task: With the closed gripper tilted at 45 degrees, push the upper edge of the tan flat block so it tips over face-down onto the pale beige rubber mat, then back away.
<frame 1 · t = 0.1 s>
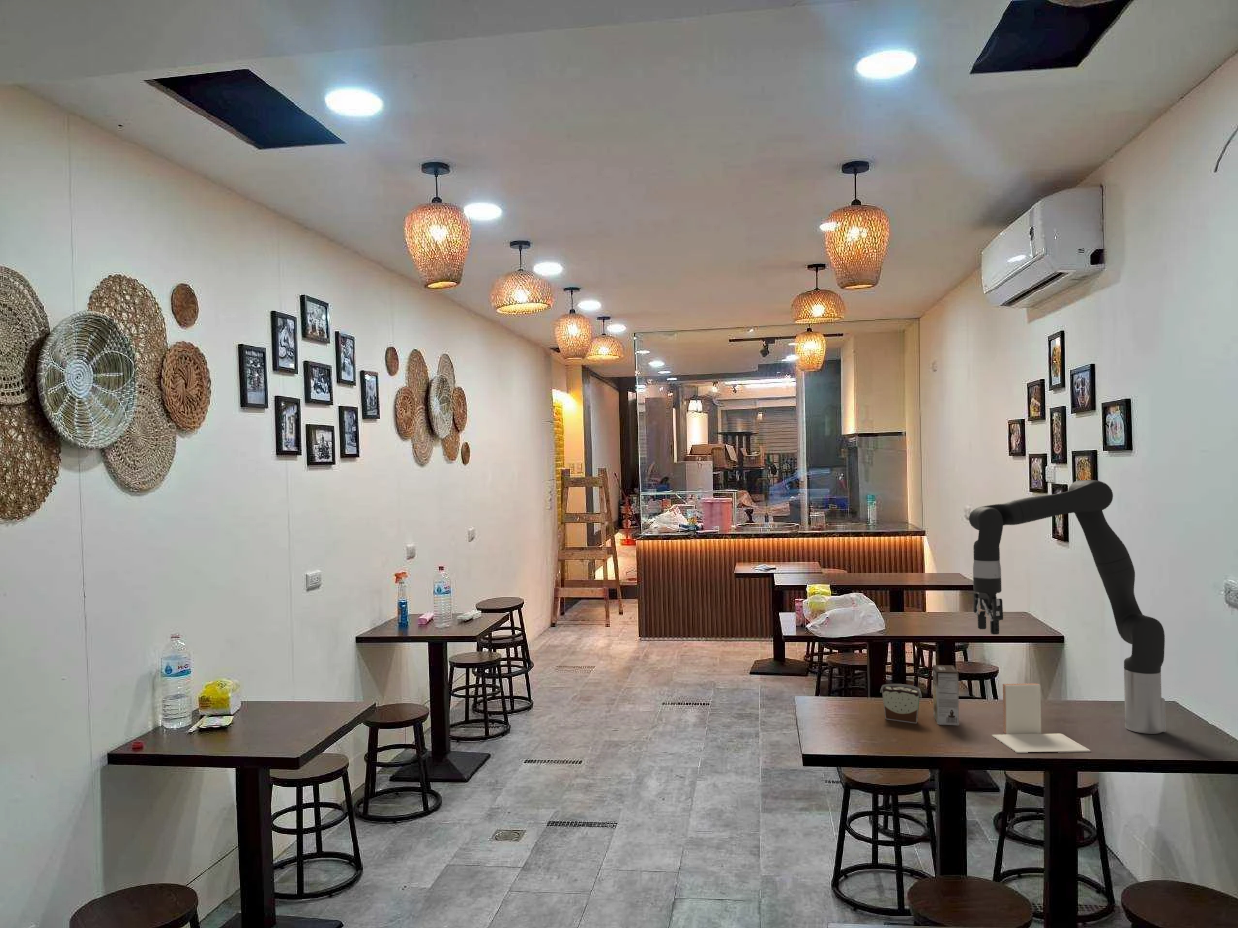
hand: (988, 631, 249), 29 cm above the table, tool pointing down, fingers open, 8 cm apart
coffee box: (946, 721, 261), on the table
food container: (903, 719, 264), on the table
tan flat block: (1022, 732, 248), on the table
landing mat: (1039, 743, 238), on the table
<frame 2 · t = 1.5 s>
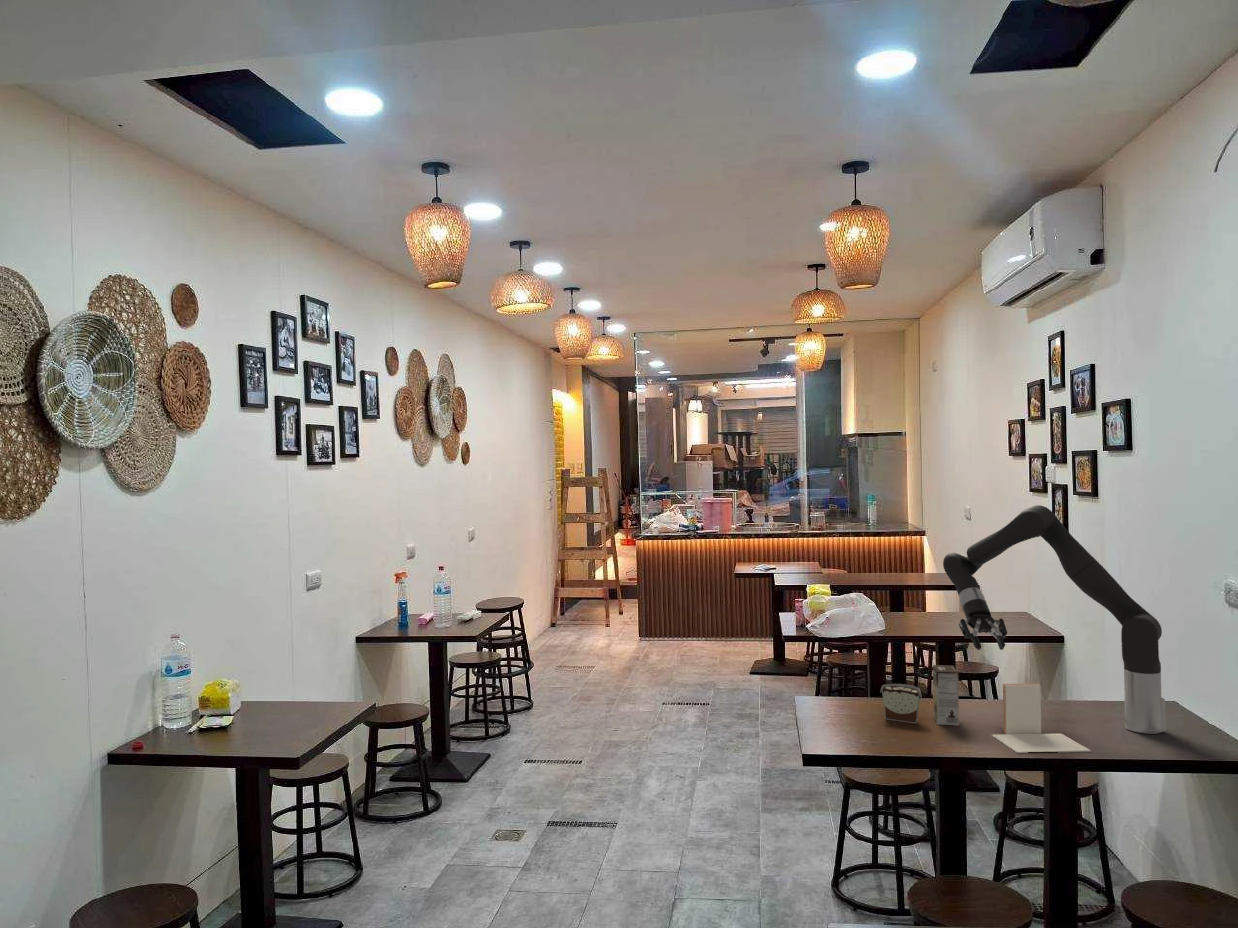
hand: (991, 648, 268), 20 cm above the table, tool tilted 45°, fingers open, 6 cm apart
nothing on the table moved.
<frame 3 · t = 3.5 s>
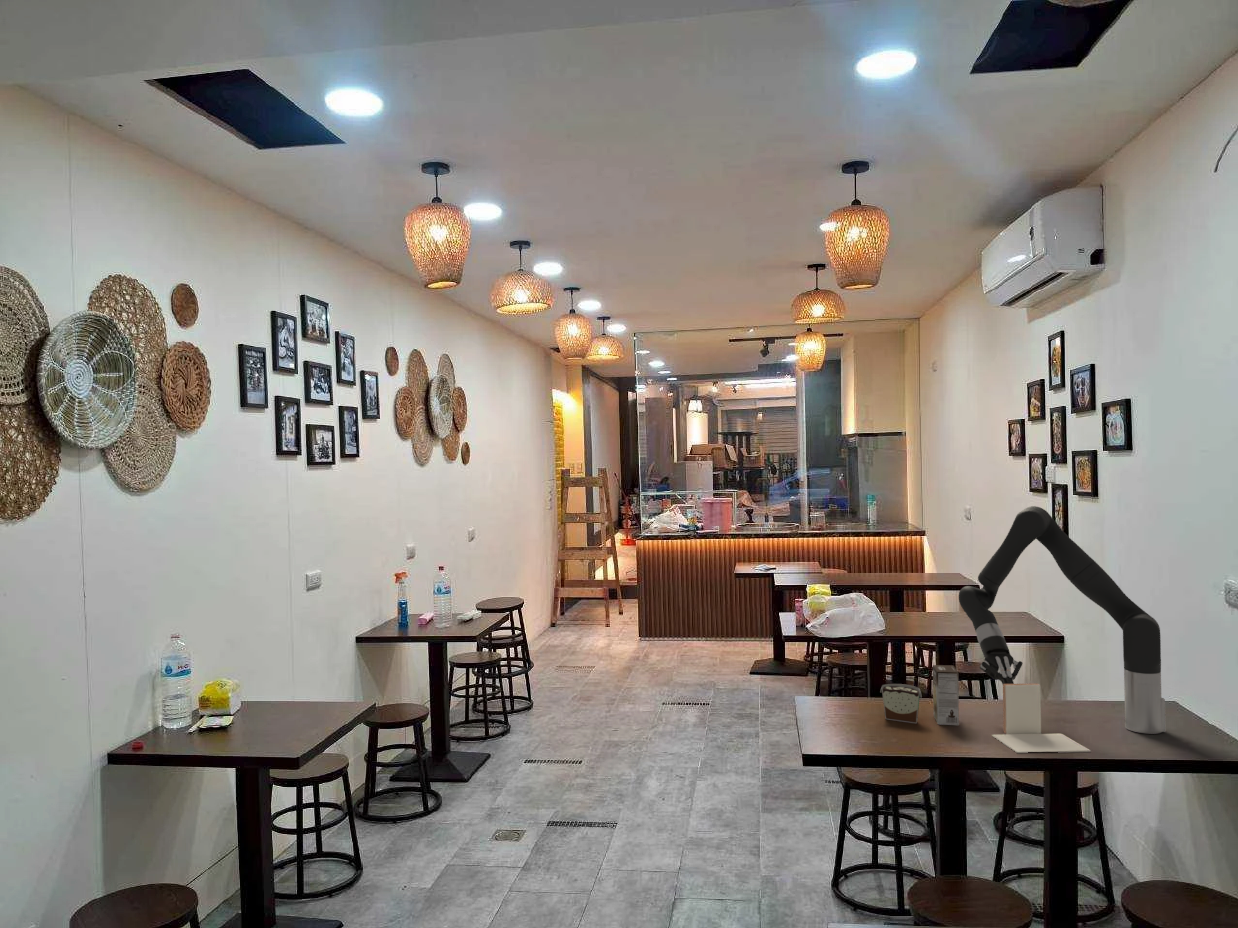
hand: (1010, 690, 255), 10 cm above the table, tool tilted 45°, fingers closed
nothing on the table moved.
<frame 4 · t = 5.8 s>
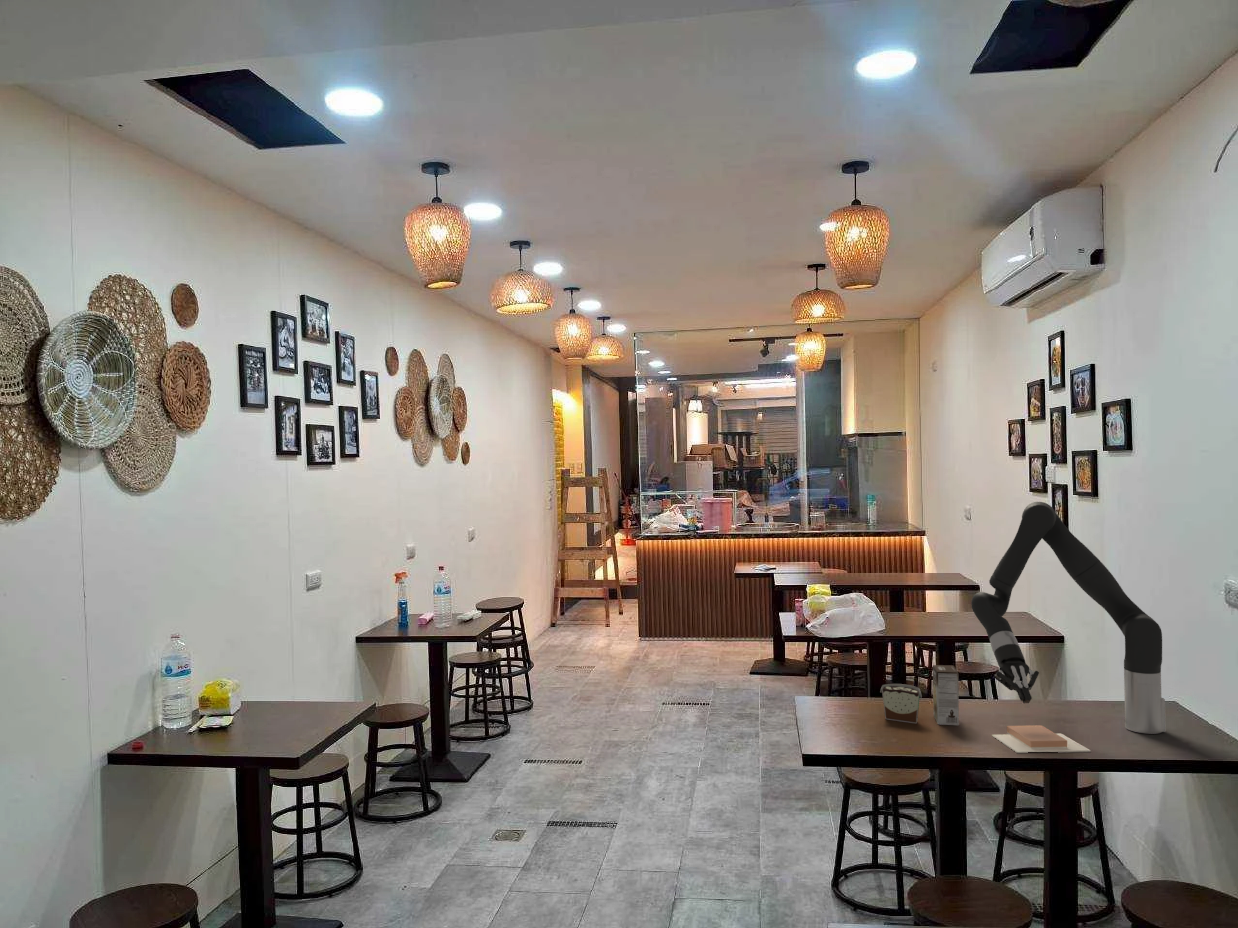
hand: (1027, 701, 245), 10 cm above the table, tool tilted 45°, fingers closed
tan flat block: (1024, 728, 247), point 1 cm above the table, tilted 90°, touching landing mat
everything else where it was.
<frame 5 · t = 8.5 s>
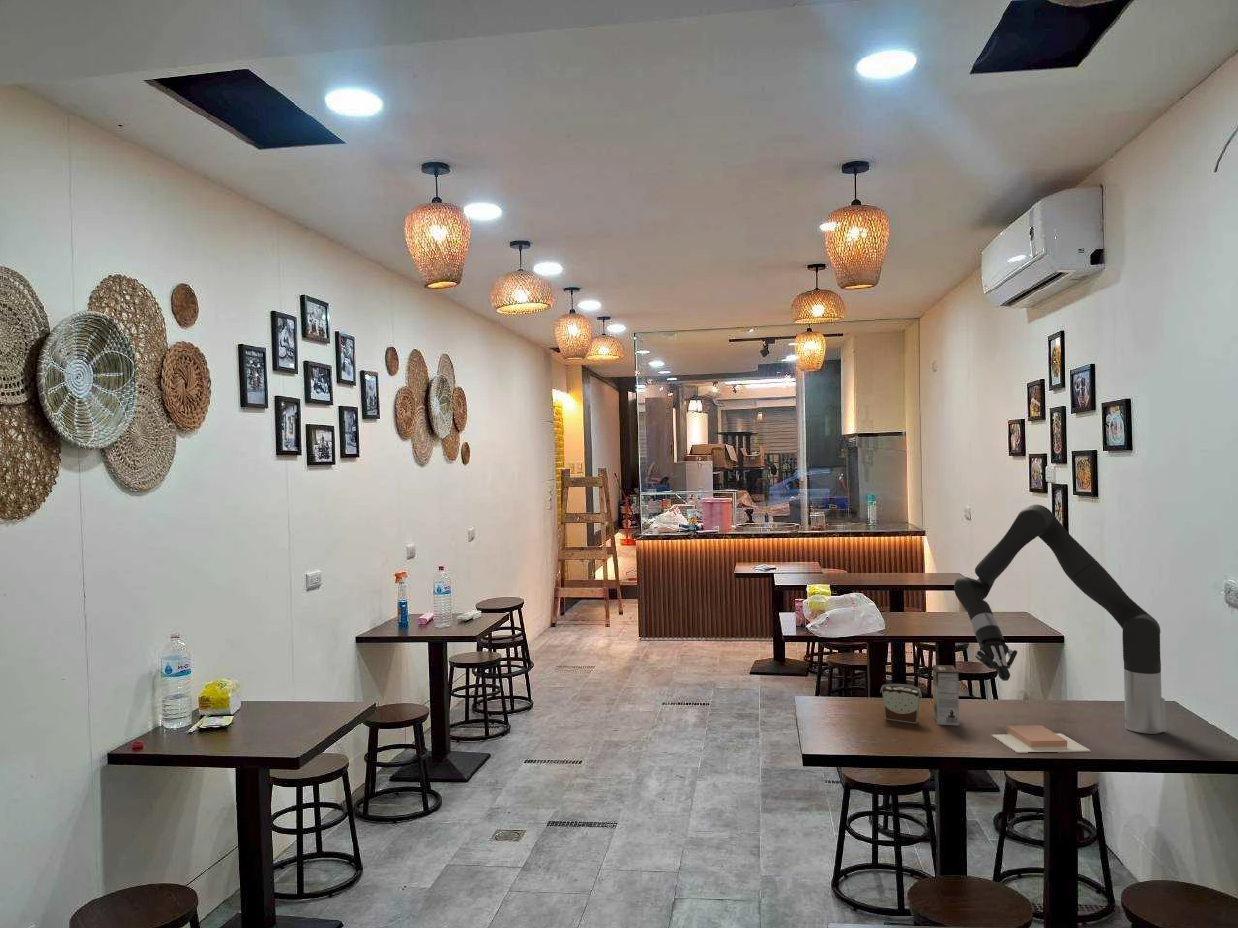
hand: (1006, 679, 258), 13 cm above the table, tool tilted 45°, fingers closed
nothing on the table moved.
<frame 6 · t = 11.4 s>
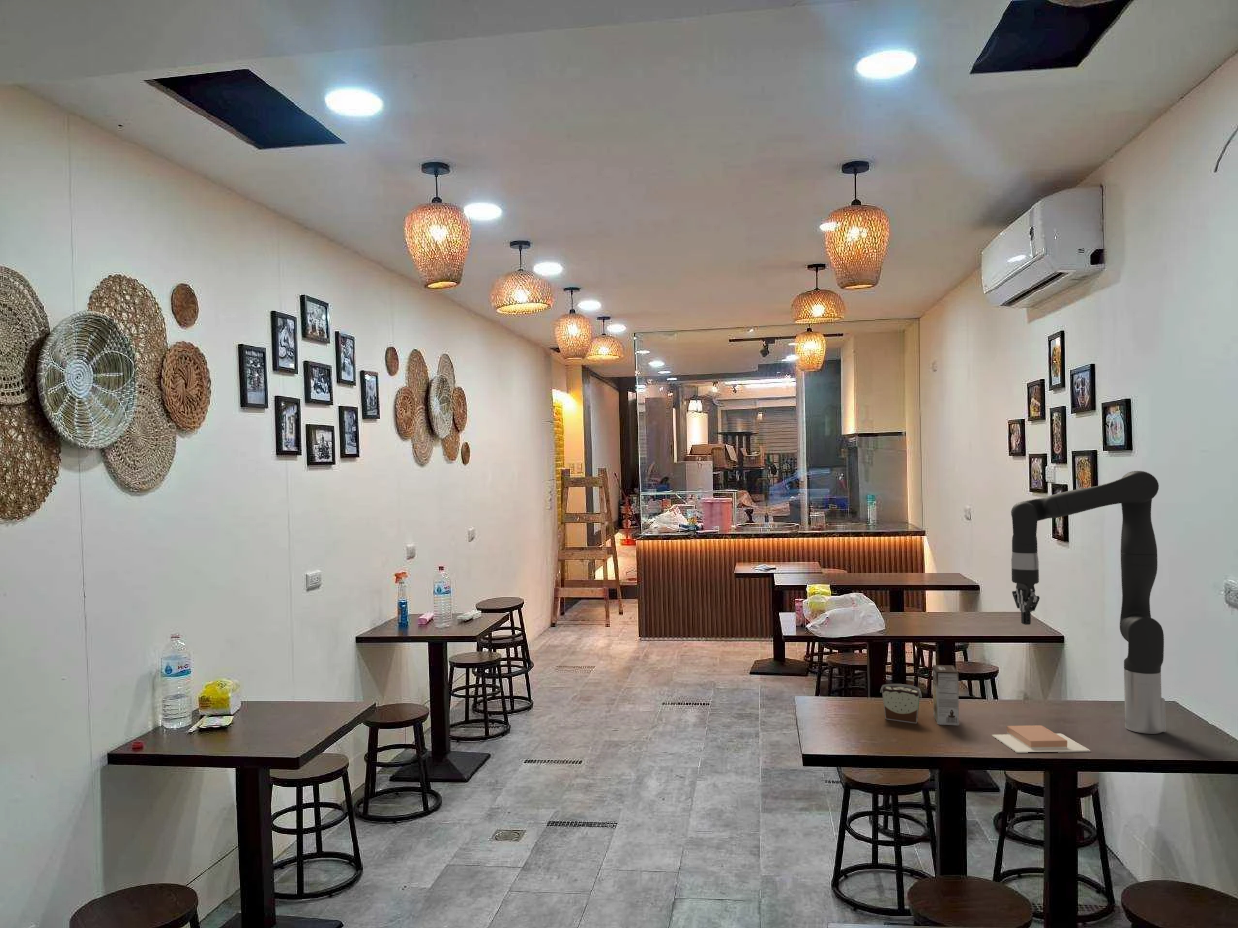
hand: (1026, 624, 261), 29 cm above the table, tool pointing down, fingers closed
nothing on the table moved.
at the end: tan flat block tilted 90°; tan flat block touching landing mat; the gripper is holding nothing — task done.
